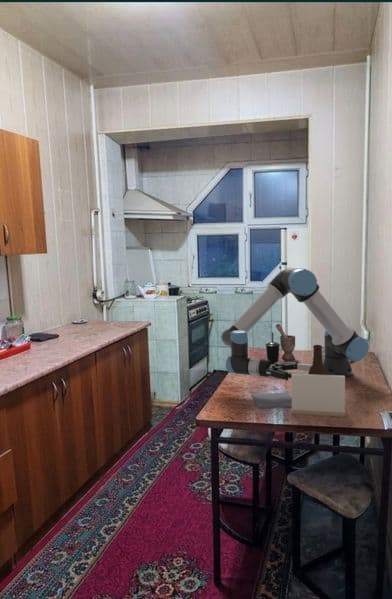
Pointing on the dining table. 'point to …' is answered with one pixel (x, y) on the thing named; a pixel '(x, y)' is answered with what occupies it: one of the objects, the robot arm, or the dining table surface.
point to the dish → (323, 354)
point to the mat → (272, 400)
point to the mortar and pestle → (286, 344)
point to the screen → (318, 394)
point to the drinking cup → (272, 351)
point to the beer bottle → (317, 362)
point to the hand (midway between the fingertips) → (308, 372)
